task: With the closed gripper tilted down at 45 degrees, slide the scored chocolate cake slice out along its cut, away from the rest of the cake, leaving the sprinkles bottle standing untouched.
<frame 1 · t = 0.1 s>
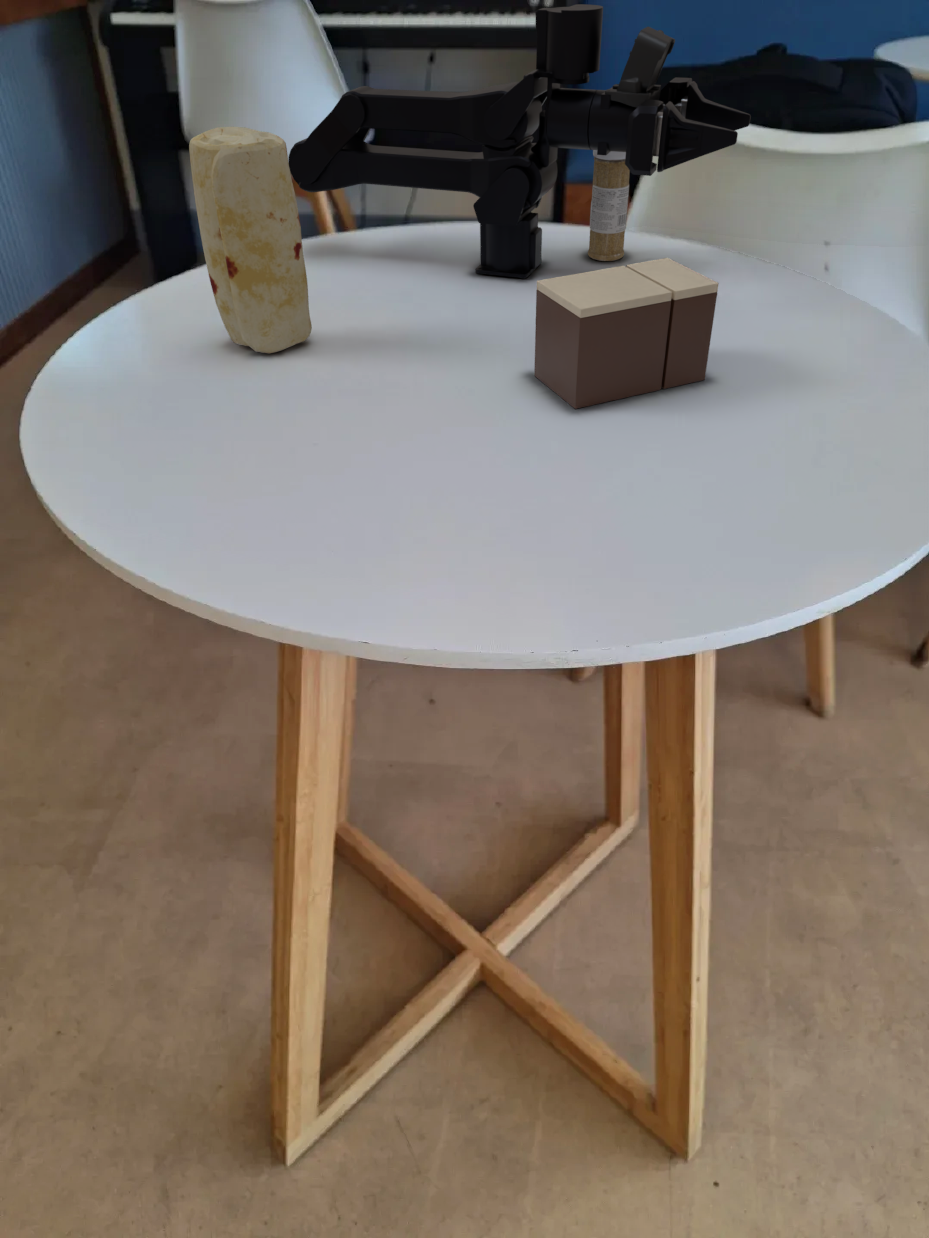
hand: (743, 129, 96), 17 cm above the table, tool horizontal, fingers open, 9 cm apart
food model: (267, 346, 96), on the table
sprinkles bottle: (605, 258, 116), on the table
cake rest: (596, 382, 87), on the table
cake slice: (660, 368, 89), on the table
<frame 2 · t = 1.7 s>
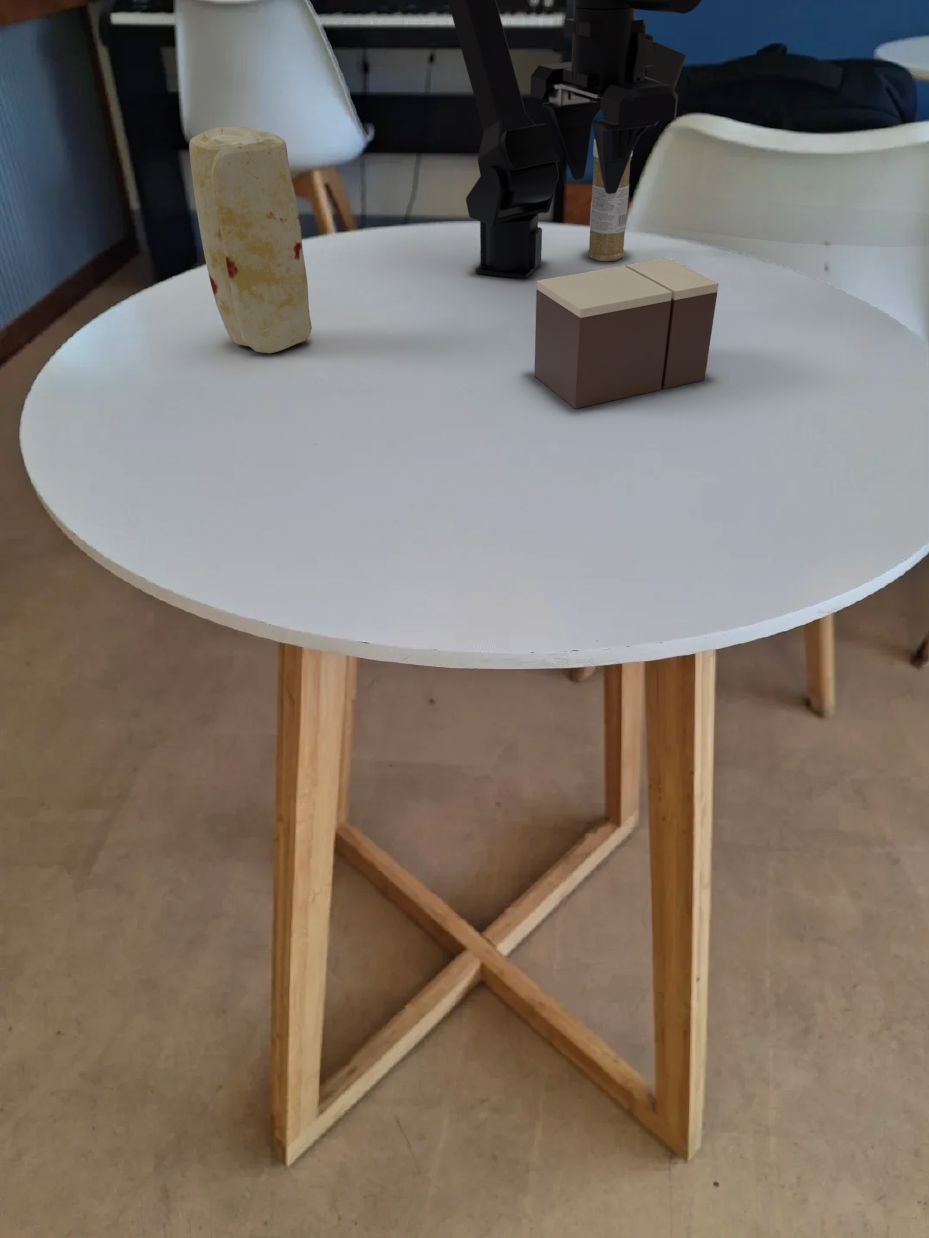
hand: (594, 186, 97), 12 cm above the table, tool pointing down, fingers open, 6 cm apart
nothing on the table moved.
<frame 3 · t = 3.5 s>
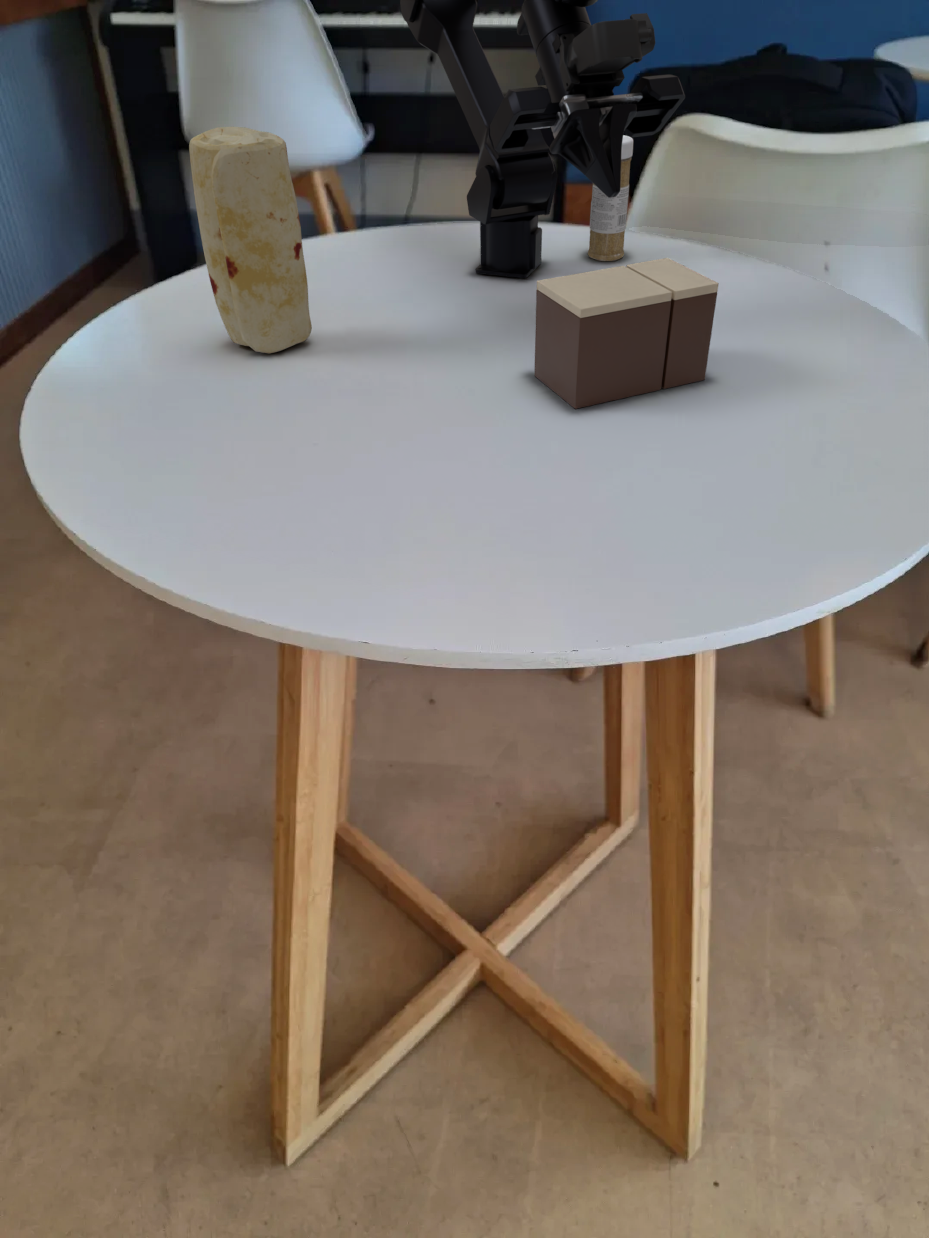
hand: (614, 195, 89), 13 cm above the table, tool tilted 45°, fingers closed
nothing on the table moved.
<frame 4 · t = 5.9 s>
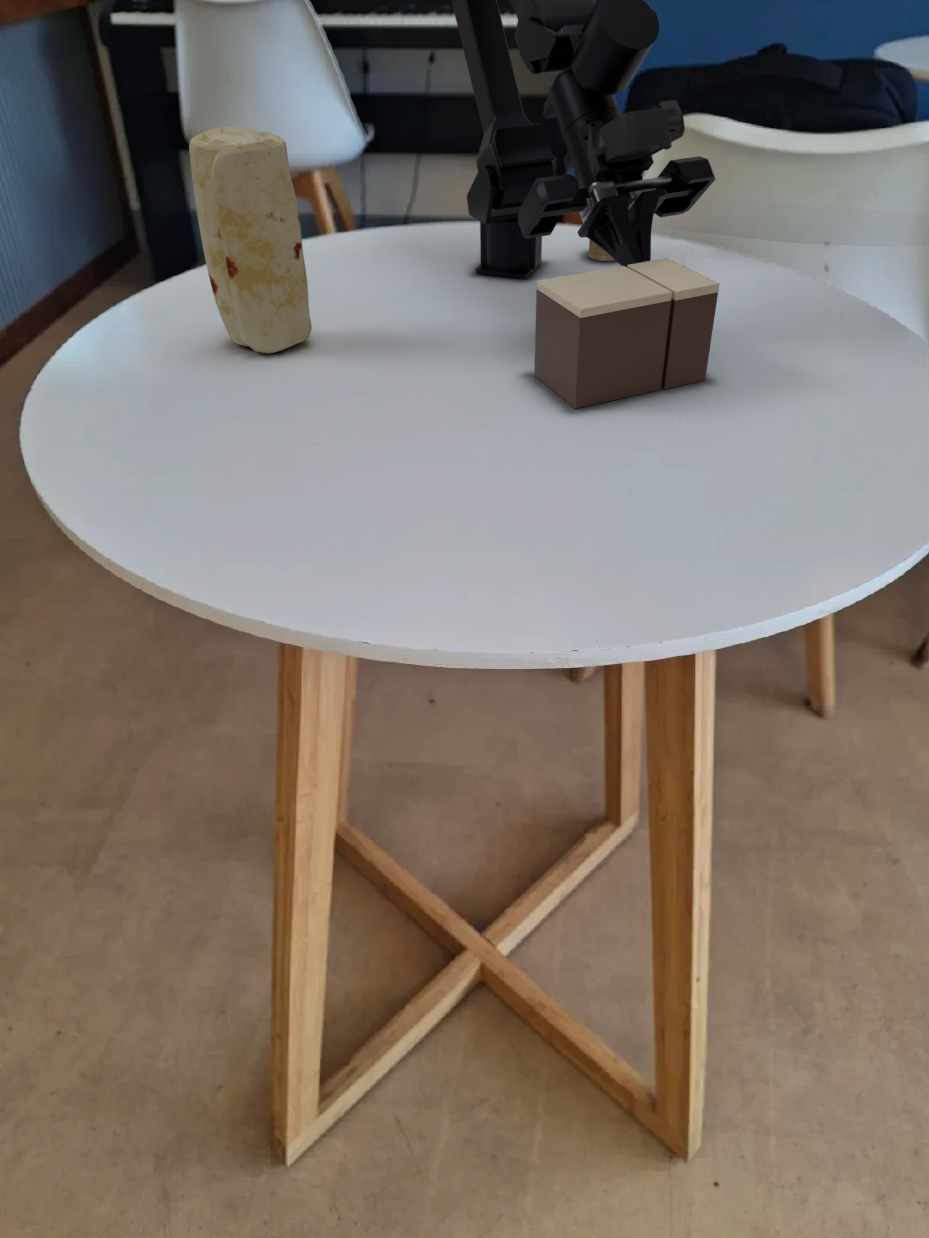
hand: (644, 279, 88), 7 cm above the table, tool tilted 45°, fingers closed, pressing on cake slice
cake slice: (661, 369, 89), on the table, touching gripper
everything else where it was.
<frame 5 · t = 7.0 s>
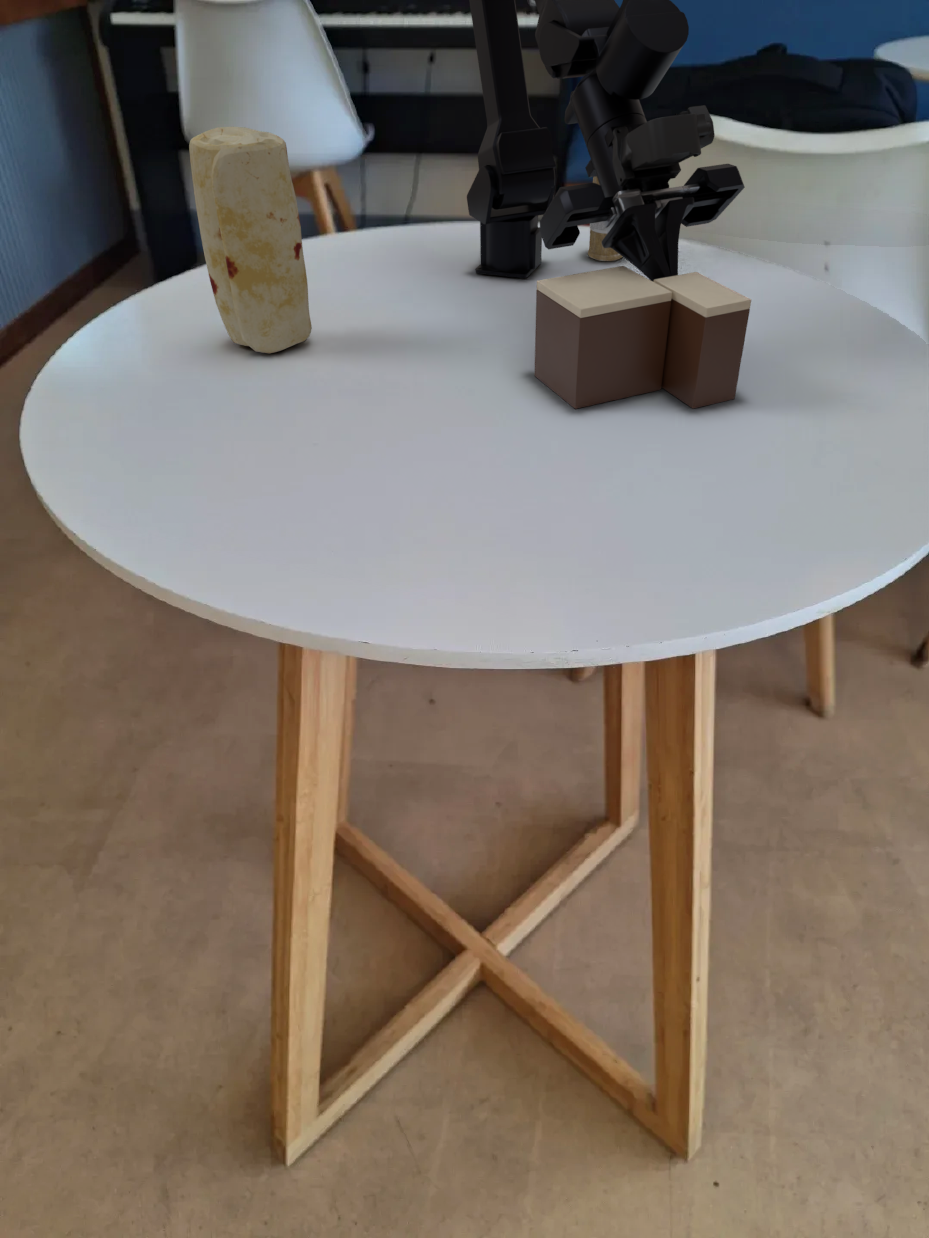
hand: (671, 291, 84), 8 cm above the table, tool tilted 45°, fingers closed, pressing on cake slice
cake slice: (688, 386, 86), on the table, touching gripper
everything else where it was.
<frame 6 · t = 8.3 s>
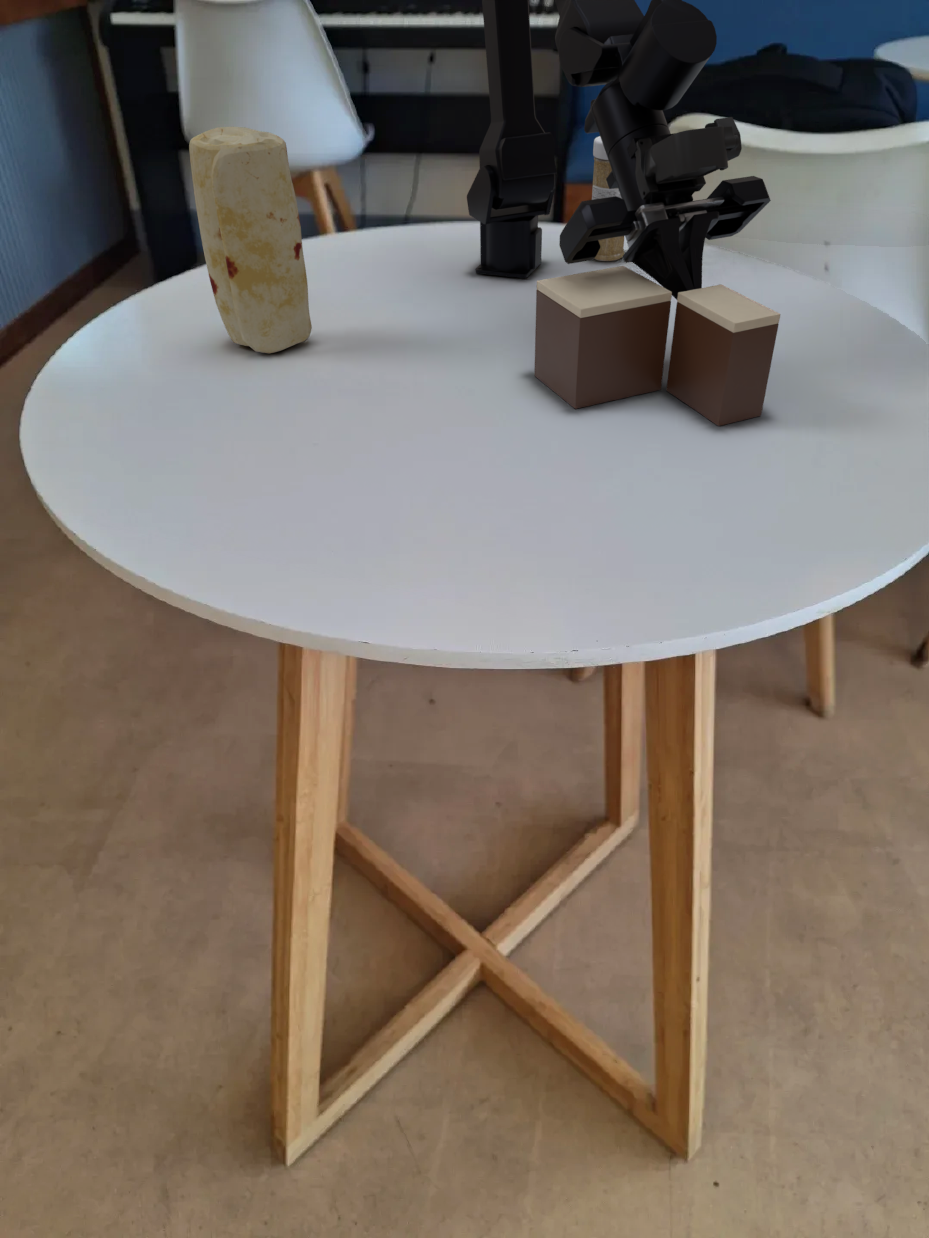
hand: (695, 307, 82), 7 cm above the table, tool tilted 45°, fingers closed
cake slice: (712, 402, 83), on the table
everything else where it was.
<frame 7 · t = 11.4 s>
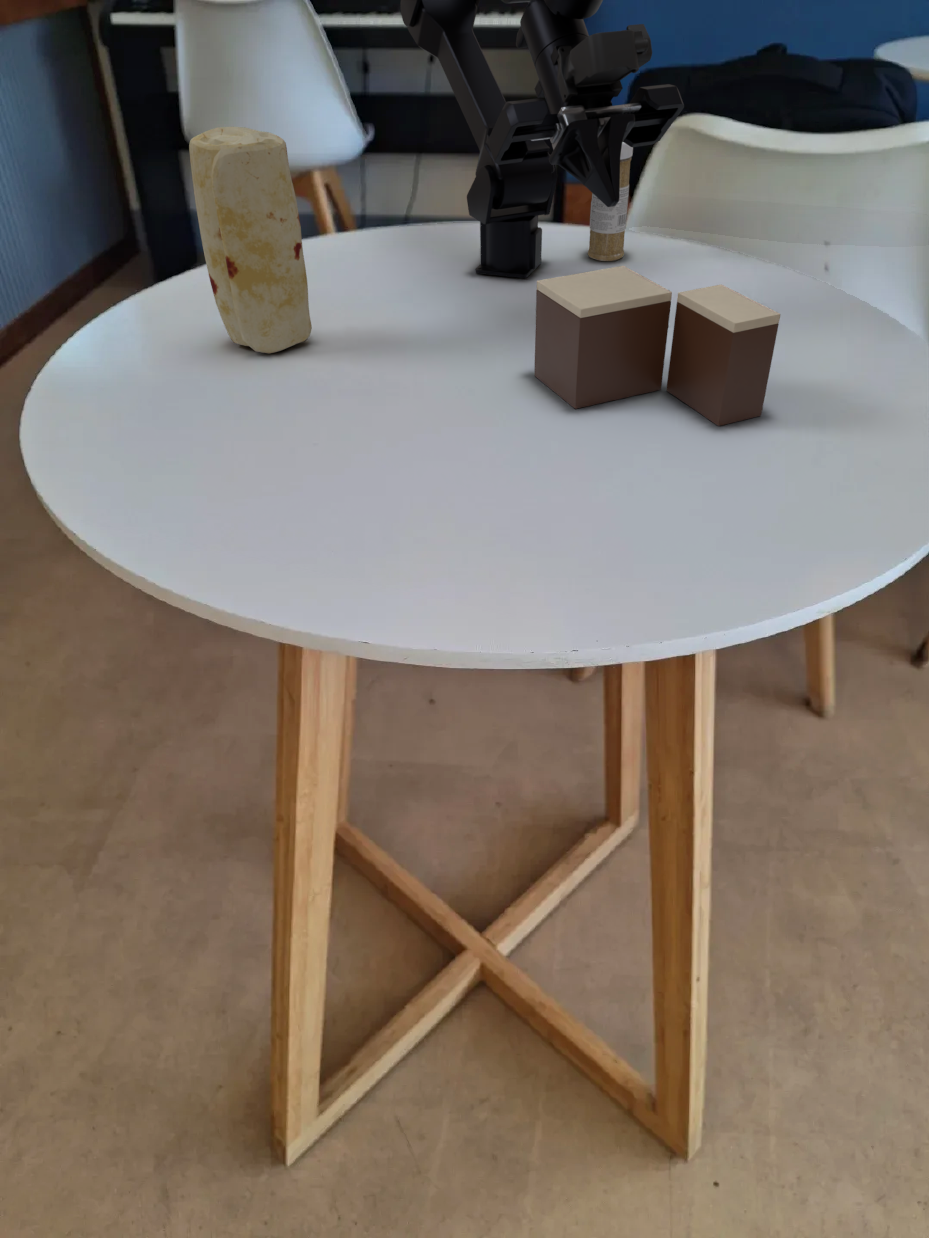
hand: (613, 204, 89), 13 cm above the table, tool tilted 45°, fingers closed
nothing on the table moved.
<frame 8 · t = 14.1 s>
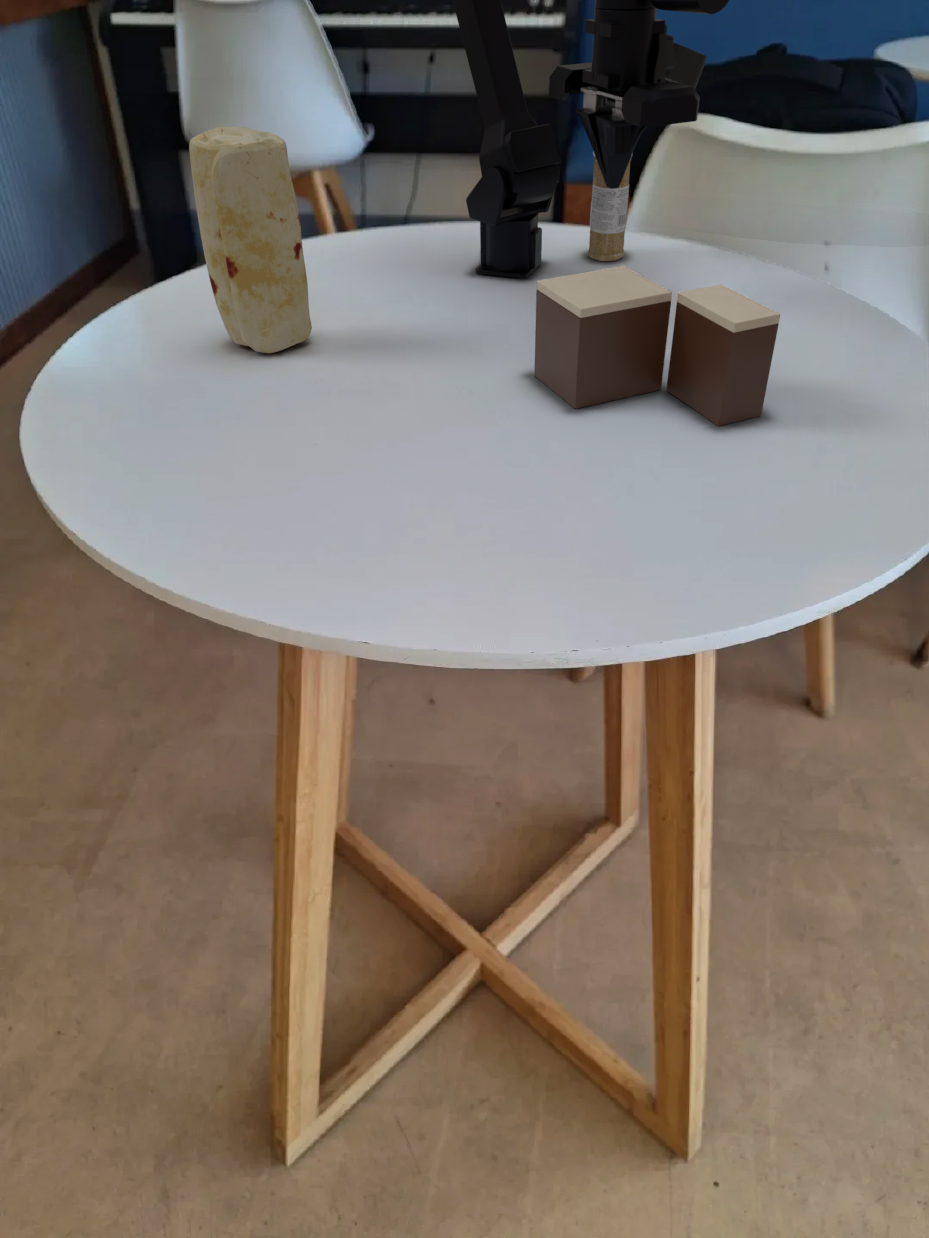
hand: (612, 187, 96), 12 cm above the table, tool pointing down, fingers closed
nothing on the table moved.
at the end: cake slice inside the target area (0.2 cm from its centre), on the table; cake slice tilted 0°; sprinkles bottle moved 0.2 cm from its start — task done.
